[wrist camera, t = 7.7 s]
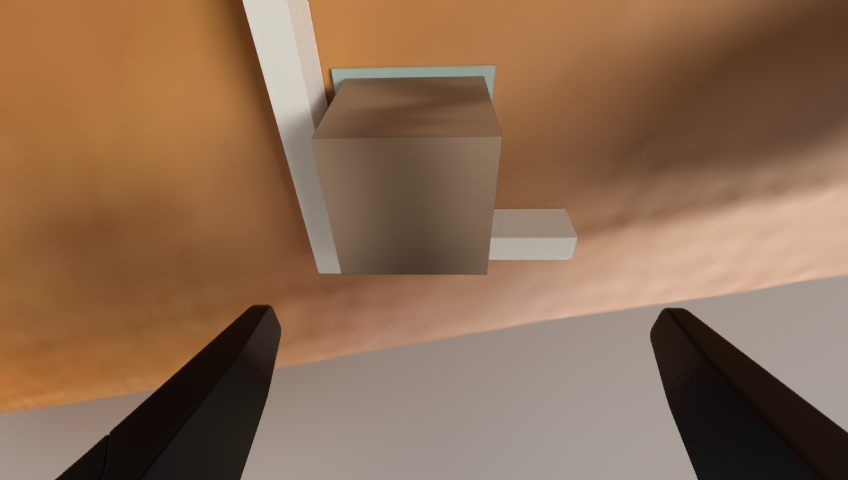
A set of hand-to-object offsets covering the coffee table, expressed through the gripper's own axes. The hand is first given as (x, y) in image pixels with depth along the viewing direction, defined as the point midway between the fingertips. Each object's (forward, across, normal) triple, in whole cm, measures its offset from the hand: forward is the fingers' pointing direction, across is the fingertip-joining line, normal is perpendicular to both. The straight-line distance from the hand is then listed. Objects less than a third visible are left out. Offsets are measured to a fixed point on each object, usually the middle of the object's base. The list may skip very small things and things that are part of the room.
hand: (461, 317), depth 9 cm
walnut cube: (+12, +2, +1) cm, 12 cm away
